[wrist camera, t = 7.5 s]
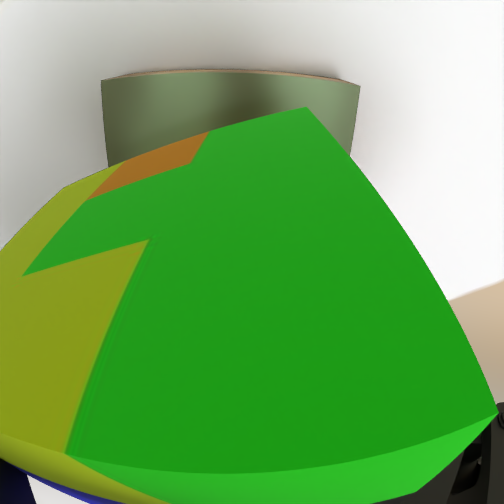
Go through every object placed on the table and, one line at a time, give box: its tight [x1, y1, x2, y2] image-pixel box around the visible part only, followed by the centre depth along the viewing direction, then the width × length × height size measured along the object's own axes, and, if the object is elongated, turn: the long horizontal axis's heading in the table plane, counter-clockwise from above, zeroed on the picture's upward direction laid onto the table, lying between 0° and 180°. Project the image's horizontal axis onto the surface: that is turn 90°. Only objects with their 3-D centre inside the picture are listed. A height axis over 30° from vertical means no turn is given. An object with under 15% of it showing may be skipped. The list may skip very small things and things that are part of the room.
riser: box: [101, 69, 360, 167], centre depth 20 cm, size 14×14×4 cm
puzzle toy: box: [0, 107, 499, 504], centre depth 9 cm, size 10×10×10 cm
